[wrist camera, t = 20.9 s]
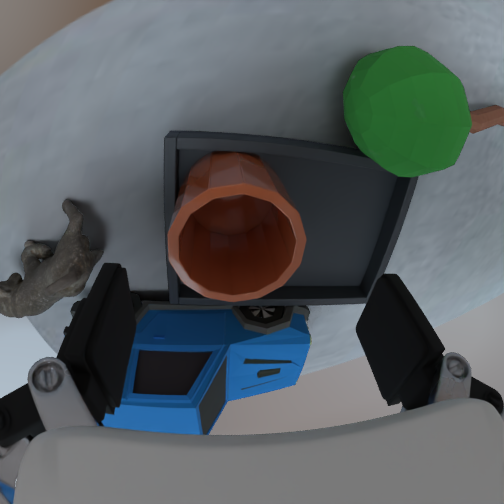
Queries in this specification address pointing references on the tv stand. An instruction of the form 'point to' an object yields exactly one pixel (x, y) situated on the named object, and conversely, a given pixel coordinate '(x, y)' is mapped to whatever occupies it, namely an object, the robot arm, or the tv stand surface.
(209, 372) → the toy car
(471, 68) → the tv stand surface
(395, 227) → the tray
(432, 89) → the tree
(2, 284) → the dog figurine
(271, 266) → the terracotta pot
